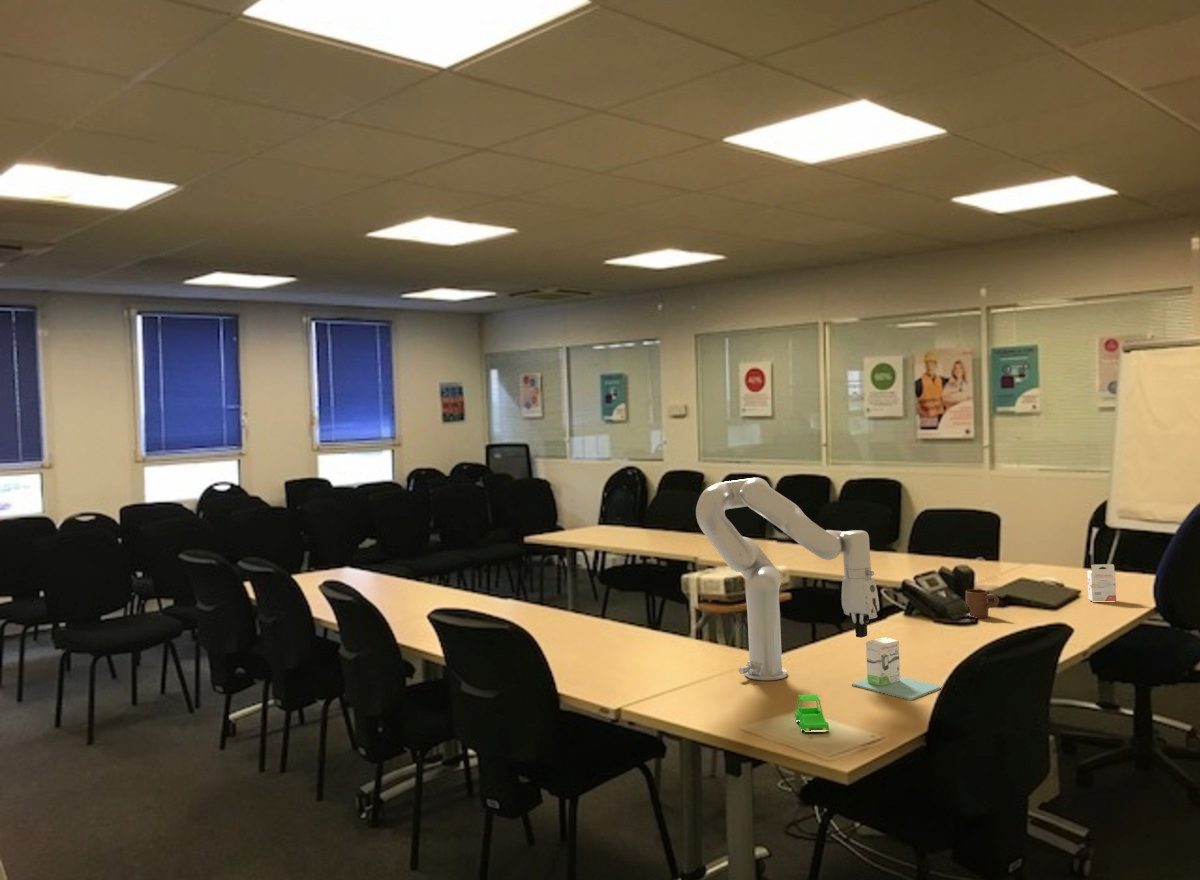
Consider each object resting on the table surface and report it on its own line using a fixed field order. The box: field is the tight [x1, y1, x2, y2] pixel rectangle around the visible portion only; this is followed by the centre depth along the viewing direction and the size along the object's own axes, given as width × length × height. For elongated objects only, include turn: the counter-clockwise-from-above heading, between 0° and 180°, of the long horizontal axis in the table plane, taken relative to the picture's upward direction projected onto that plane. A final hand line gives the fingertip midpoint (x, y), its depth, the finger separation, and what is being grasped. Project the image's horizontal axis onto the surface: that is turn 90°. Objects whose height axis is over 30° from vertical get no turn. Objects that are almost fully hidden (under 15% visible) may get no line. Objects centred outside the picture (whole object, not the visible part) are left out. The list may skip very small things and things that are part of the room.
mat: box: [851, 676, 942, 701], centre depth 258 cm, size 15×19×1 cm
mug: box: [965, 588, 1000, 619], centre depth 335 cm, size 12×8×9 cm, turn 40°
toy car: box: [794, 694, 830, 731], centre depth 230 cm, size 11×7×7 cm, turn 177°
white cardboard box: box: [865, 636, 901, 686], centre depth 261 cm, size 9×5×12 cm, turn 122°
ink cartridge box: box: [1086, 563, 1117, 602], centre depth 352 cm, size 9×5×15 cm, turn 80°
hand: (861, 636), depth 267 cm, fingers closed
